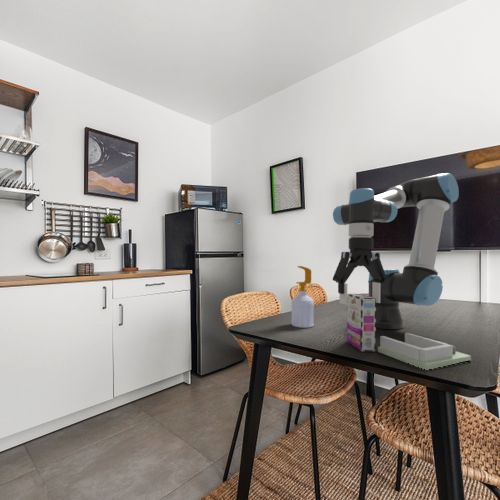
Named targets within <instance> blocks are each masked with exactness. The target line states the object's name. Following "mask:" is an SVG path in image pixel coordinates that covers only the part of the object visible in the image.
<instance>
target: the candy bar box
mask: <svg viewBox="0 0 500 500" xmlns="http://www.w3.org/2000/svg"><path fill="white" fill-rule="evenodd" d="M346 306H347V310H346V314H347V315H346V316H347V317H346V321H347V322H346V342H347V343H348V344H350V345H351V346H353V347H354V348H355V349H357V350H359V351H360V352H364V353H365V352H373V353H374V352H376V350H377V349H376V348H377V347H376V345H377V344H376V340H377V339H376V338H377V337H376V336H377V334H376V333H377V328H376V298H373V297H370V296H369V295H366V294H361V293H347V305H346Z"/></svg>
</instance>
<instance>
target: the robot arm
mask: <svg viewBox="0 0 500 500" xmlns="http://www.w3.org/2000/svg"><path fill="white" fill-rule="evenodd" d="M459 191H460V190H459V185H458V181H457V180H456V178H455V176H454V175H453V174H451V173H449V172H446V173H437V174H433V175H429V176H425V177H419V178H414V179H409V180H407V181H405V182H402V183H400V184H397V185H395V186H391V187H390V188H388V189H387V190H386V191H384V192H382V193H378V194H376V195H375V190H374V189H372V188H367V187H366V188H365V187H363V188H362V187H361V188H356V189H352V190H350V193H349V198H348V199H349V201H348V203H347V204H342V205H338V206H336V207H335V208H334V209H333V212H332V217H333V218H332V219H333V221H334V223H335V224H336V225H339V226H347V225H348V237H349V239H348V249H349V251H342V252H341V253H340V260H339V263H338V265H337V267H336V269H335V271H334V275H333V277H332V281H334V282H335V283H337V293H338V294H339V304H341V305H345V306H347V294H348V283H346V282H347V281H348V279H349V278H350V276H351V275H352V273H353V272H354V270H355V269H356V268H357V267H364V268H365V269H366V270H367V272H368V273H369V274H368V281H367V282H368V296H370V297H373V298H376V329H383V330H400V329H404V327H405V322H404V320H403V316H402V313H401V311H400V303H401V304H408V305H409V304H410V305H416V306H417V307H421V306H424V307H431V306H434V305H435V304H436V303H437V302H438V301H439V299H440V298H441V295H442V293H443V287H444V286H443V279H442V278H441V277H440V276H439V275H438V273H439V272H438V271H437V270H436V269H435V264H436V259H437V255H438V254H437V252H438V249H439V243H440V238H441V231H442V226H443V221H444V214H445V212H446V211H448V210H449V209H450V207H451V203H454V202H457V200H458V199H459V195H460V193H459ZM409 207H410V208H411V207H416V208H417V209H418V210H419V212H418V218H417V222H416V228H415V231H414V237H413V241H412V247H411V253H410V256H409V261H408V264H406V265H405V266H403V270H402V272H400V270H399V269H397V268H396V269H384V267H383V263H382V262H381V255H380V252H372V250H374V238H373V236H374V229H375V226H374V223H377V222H378V223H383V224H384V223H389V222H392V221H394V220H395V218H396V217H397V215H398V209H401V208H409Z"/></svg>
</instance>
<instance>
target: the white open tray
mask: <svg viewBox="0 0 500 500" xmlns="http://www.w3.org/2000/svg"><path fill="white" fill-rule="evenodd" d="M456 348H457V347H456V345H453V344H449V343H446V342H444V341H443V342H442V341H438V340H435V339H432V338H428V337H425V336H421V335H417V334H414V333H411V332H404V341H401V340H398V339H395V338H391V337H388V336H385V335H381V336H379V346H377V352H378V353H380V354H382V355H386V356H387V357H391V358H393V359H396V360H398V361H401V362H403V363H406V364H408V363H409V365H410V366H413V365H414V367H416V368H418V367H419V369H421V368H422V369H421V370H424V369H425V370H424V371H426V370H427V371H430V370H429V369H432V370H435V369H434V368H436V369H439V368H438V367H441V368H444V367H443V366H446V367H448V366H447V365H451V364H455V363H459V362H463V361H468V360H471V361H472V356H471V355H469V354H466V353H464V352H459V351H456ZM455 365H456V364H455ZM451 366H452V365H451Z"/></svg>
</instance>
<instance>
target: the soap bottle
mask: <svg viewBox="0 0 500 500" xmlns="http://www.w3.org/2000/svg"><path fill="white" fill-rule="evenodd" d="M297 268H298V269H302V270H304V281H296V282H295V283H296V284H299V286H300V288H299V289H298V295H296V296H294V297H293V298H292V300H291V326H293V327H295V328H300V329H301V328H302V329H304V328H305V329H306V328H307V329H309V328H312V327H314V324H315V321H314V319H315V314H314V313H315V305H314V303H315V302H314V300H313V298H312V297H310V296H309V295H307V294H308V293H307V292H308V291H307V289H306V288H305V287H306V286H307V284H311V283H312V270H311V269H310V268H308V267H305V266H303V265H302V266H301V265H298V266H297Z"/></svg>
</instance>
